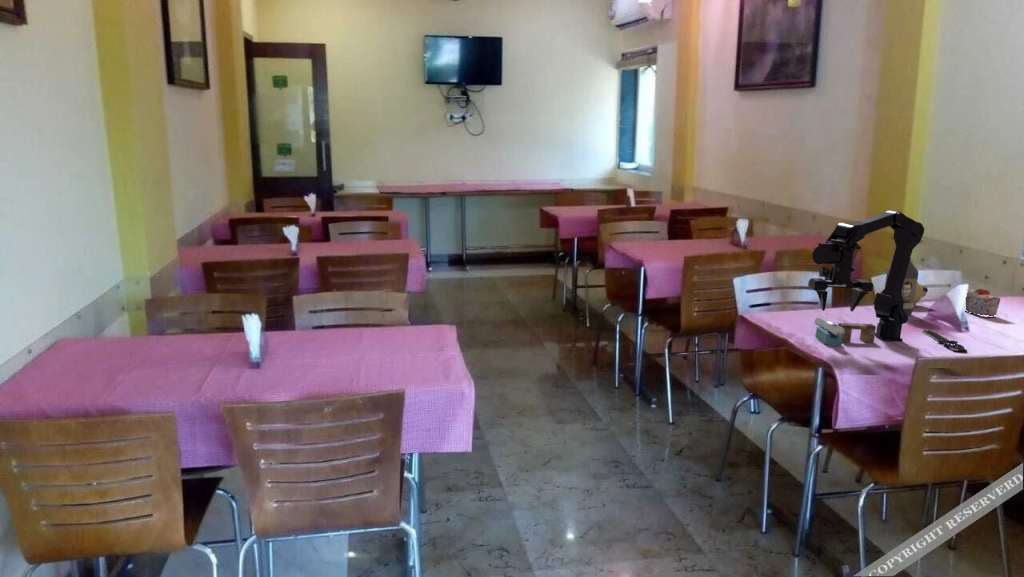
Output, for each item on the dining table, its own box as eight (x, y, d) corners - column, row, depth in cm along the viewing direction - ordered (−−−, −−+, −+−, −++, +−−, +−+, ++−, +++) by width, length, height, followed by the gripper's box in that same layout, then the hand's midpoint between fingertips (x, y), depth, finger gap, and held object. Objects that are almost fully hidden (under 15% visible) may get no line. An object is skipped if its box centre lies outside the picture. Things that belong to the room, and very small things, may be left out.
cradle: (831, 337, 255) (832, 327, 255) (841, 344, 248) (842, 334, 247) (815, 337, 255) (816, 326, 255) (825, 344, 248) (826, 333, 247)
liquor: (878, 309, 295) (889, 232, 289) (901, 309, 296) (913, 233, 289) (891, 315, 287) (903, 236, 280) (914, 316, 287) (927, 237, 280)
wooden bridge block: (869, 339, 255) (871, 323, 253) (873, 342, 252) (875, 326, 250) (836, 338, 254) (838, 322, 253) (840, 341, 252) (842, 325, 250)
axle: (823, 326, 259) (824, 316, 259) (844, 336, 243) (845, 326, 243) (814, 325, 259) (815, 316, 259) (834, 336, 243) (835, 326, 243)
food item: (1000, 318, 289) (1005, 293, 286) (982, 319, 287) (987, 293, 285) (972, 309, 302) (976, 284, 299) (955, 309, 300) (959, 285, 298)
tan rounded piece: (929, 307, 301) (934, 281, 299) (903, 308, 298) (907, 282, 296) (911, 301, 310) (915, 276, 308) (886, 302, 308) (890, 276, 305)
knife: (919, 331, 269) (919, 327, 268) (938, 332, 268) (939, 328, 268) (947, 352, 244) (948, 348, 244) (969, 354, 244) (970, 350, 243)
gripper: (861, 259, 251) (854, 305, 255) (804, 257, 251) (799, 303, 254) (877, 266, 240) (870, 314, 244) (818, 264, 240) (812, 312, 244)
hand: (837, 310), depth 247 cm, fingers open, 9 cm apart
